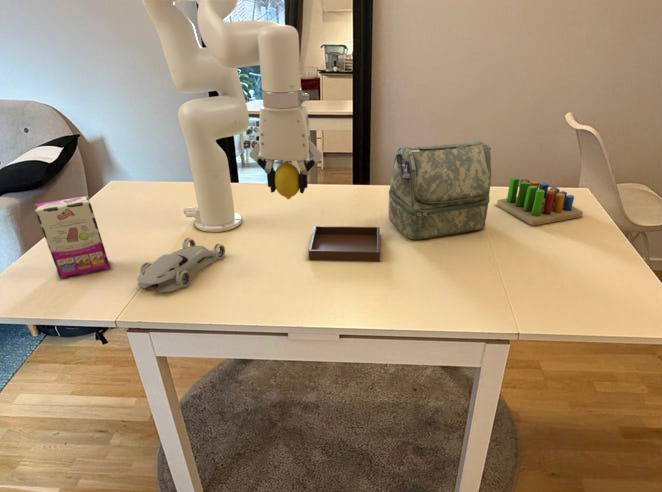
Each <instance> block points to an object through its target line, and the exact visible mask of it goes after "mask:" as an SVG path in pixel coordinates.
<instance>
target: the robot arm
mask: <svg viewBox="0 0 662 492" xmlns="http://www.w3.org/2000/svg"><path fill="white" fill-rule="evenodd" d="M175 2H195V3H196V4H197V5H198V7H197V12H196V18H197V19H196V20H197V21H196V22H197V26H198V31H199V35H200V37H201V40H202V42H203V44H204V45H205V47H202V46H201V44H200V41H199V39H198V36H197V32H196V29H195V26H194V24H193V22H192V21H191V19H190V18H189V17H188V16H187V15H186V13H184V12H183V10H182V9H180V8H179V7H178V6H177V5H176V4H175ZM141 3H142V6H143V7H144V9H145V11H146V14H147V15H148V17H149V18H150V19H149V20H151V22H152V24H153V26H154V28H155V30H156V32H157V35H158V38H159V41H160V44H161V48H162V50H163V54H164V57H165V61H166V65H167V67H168V70H169V73H170V76H171V80H172V82H173V85H174V87H175V88H176V90H177V91H178V92H179V93H181V94H186V95H193V94H201V93H209V92H215V91H216V92H217V94H218V95H216V96H208V97H201V98H195V99H191V100H188V101H186V102H184V103H183V104H182V105H180V107H179V108H178V111H177V120H178V124H179V127H180V130H181V132H182V136H183V139H184V142H185V145H186V149H187V153H188V158H189V165H190V169H191V176H192V180H193V187H194V194H195V198H196V204H197V206H195V207H184V208H183V214H184V215H185V217H186V218H195V219H194V226H195V228H197V229H198V230H200V231H202V232H203V231H204V232H209V233H219V232H220V233H221V232H226V231H230V230H233V229H235V228H237V227H238V226H240V225H241V224H242V217H241V215H240V214H238V213H236V212H235V205H234V198H233V190H232V184H231V183H232V181H231V175H230V167H229V160H228V157H227V154H226V152H225V151H224V150H223V148H222V147H221V146H220V145H219V144H218V143H217V140H220V139H223V138H229V137H234V136H238V135H242V134H243V133H245V132H246V131H247V130H248V129H249V126H250V116H249V110H248V106H247V102H246V98H245V94H244V90H243V86H242V83H241V79H240V75H239V72H238V68H246V67H254V66H259V69H260V71H259V72H260V80H261V92H262V93H261V94H262V104H261V105H260V107H259V122H258V124H259V125H258V139H259V140H258V142H257V143H256V144H255V146H254V147H253V148H252V149H251V151H250V152H249V154H248V156H249V157H250V158H251V159H252V160H253V161H254V162H255V163H257V165H258V166H259V167H260V168H261V169H262V170H263V171H264V173H265V174H266V179H267V181H266V182H267V187H268V188H270V193H275V192H276V191H277V190H276V187H275V183H274V176H275V171H276V169H274V165H275V161H288V162H289V161H292V162H293V161H294V162H295V161H296V163H297V166H298V167H299V186H300V189H299V193H300V194H304V193H305V190H306V189H308V183H309V182H308V172H309V171H310V170H311V169H312V168H313V167H314V166H315V165H316V164H317V163H318V162H319V161H320V160H321V159H322V158H323V153H322V152H321V150H319V148H317V146H316V145H315V144H314V143H313V142H312V141H311V139H312V138H311V129H310V121H309V115H308V110H307V109H308V108H307V106H306V105H305V104H303V103H304V102H309V101H310V95H309V92H308V93H306V92H304V91H303V89H302V83H301V81H302V79H301V58H300V57H301V56H300V37H299V32H298V30H297V28H295V26H292V25H288V24H281V23H278V22H276V21H274V20H270V19H259V20H241V21H240V20H239V21H238V20H237V21H229V22H226V19H228V18H230V16H231V15H232V14H233V13H234V12H235V11H236V9H237V7H238V3H239V0H141ZM259 153H260V154H259ZM310 154H312V155H313V156H312V157H311V158H310V159H309V160H308V161H307V159H308V158H309V157H310V156H309V155H310Z"/></svg>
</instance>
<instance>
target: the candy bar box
mask: <svg viewBox="0 0 662 492" xmlns="http://www.w3.org/2000/svg"><path fill="white" fill-rule="evenodd" d="M34 206H35V207H34V210H35V214H36V217H37V221H38V223H39V225H40V229H41V230H42V233H43V236H44V239H45V241H46V244H47V246H48V249H49V252H50V254H51V258H52V260H53V263H54V265H55V268H56V271H57V274H58V277H59V279H60V280H61V279H62V280H63V279H69V278H72V277H79V276H83V275H88V274H92V273H97V272H102V271H106V270H107V271H108V270H111V265H110V262H109V259H108V256H107V251H106V248H105V245H104V241H103V239H102V236H101V232H100V229H99V226H98V223H97V220H96V217H95V213H94V210H93V206H92V204H91V200H90V199H89V196H88V195H82V196H77V197H71V198H64V199H59V200H53V201H47V202H41V203H35V204H34Z"/></svg>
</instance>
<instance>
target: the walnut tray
mask: <svg viewBox="0 0 662 492" xmlns="http://www.w3.org/2000/svg"><path fill="white" fill-rule="evenodd" d="M380 229H381V227H380V226H349V225H347V226H345V225H344V226H343V225H342V226H341V225H314V226H313V230H312V235H311V239H310V243H309V248H308V261H325V262H327V261H331V262H376V263H377V262H380V261H381V260H380V259H381V258H380V257H381V233H380V231H381V230H380Z"/></svg>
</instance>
